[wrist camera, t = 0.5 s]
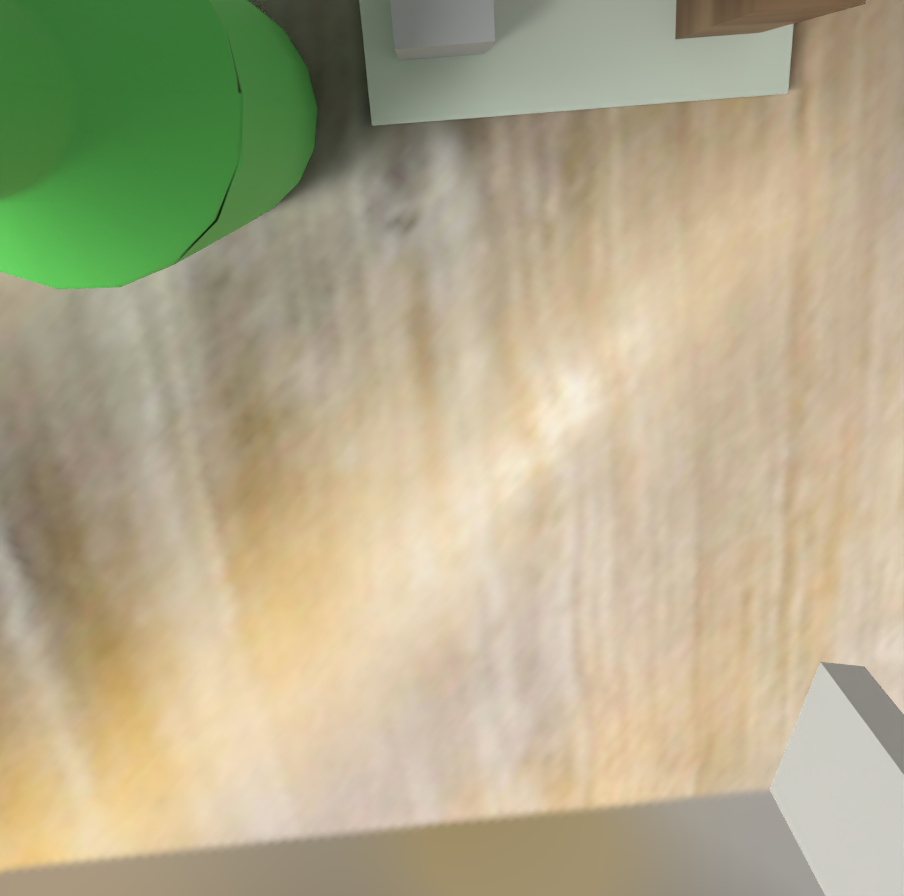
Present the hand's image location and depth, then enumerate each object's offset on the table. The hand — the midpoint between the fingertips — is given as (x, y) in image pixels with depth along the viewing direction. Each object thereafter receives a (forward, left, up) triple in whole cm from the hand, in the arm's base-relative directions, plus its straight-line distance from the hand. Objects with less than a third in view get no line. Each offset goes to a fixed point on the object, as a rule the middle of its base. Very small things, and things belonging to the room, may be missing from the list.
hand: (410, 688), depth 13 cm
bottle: (-9, -8, -26) cm, 29 cm away
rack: (-12, +8, -26) cm, 29 cm away
